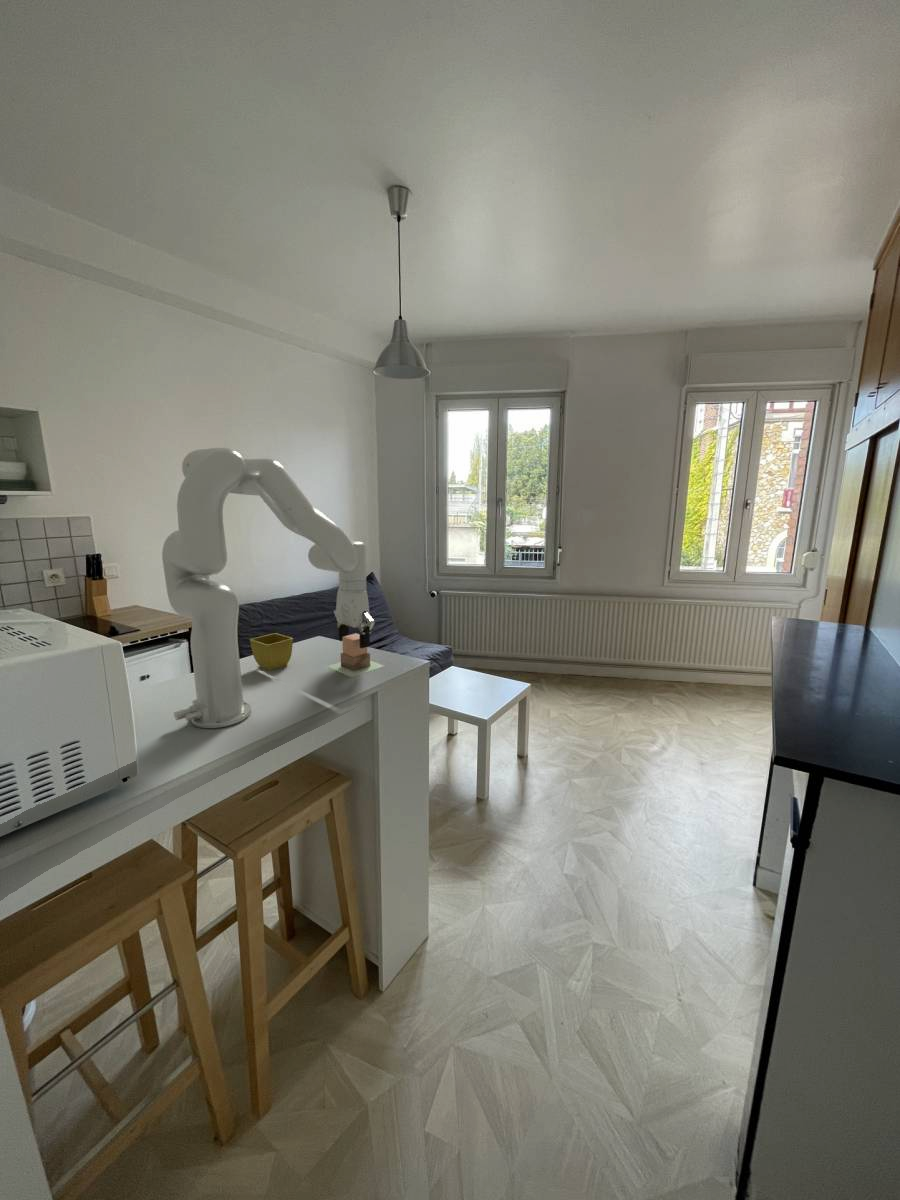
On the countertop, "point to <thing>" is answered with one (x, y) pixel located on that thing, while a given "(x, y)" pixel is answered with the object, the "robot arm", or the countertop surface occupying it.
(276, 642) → the flower pot
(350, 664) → the base block
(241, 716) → the robot arm
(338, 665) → the plate
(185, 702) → the countertop surface
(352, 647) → the cube
